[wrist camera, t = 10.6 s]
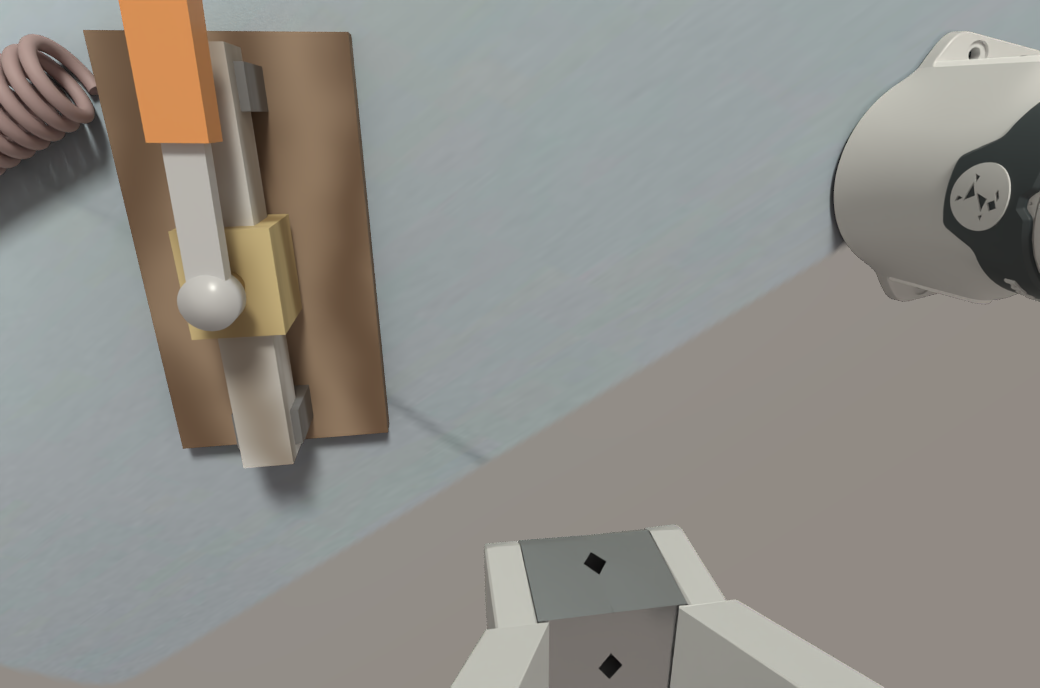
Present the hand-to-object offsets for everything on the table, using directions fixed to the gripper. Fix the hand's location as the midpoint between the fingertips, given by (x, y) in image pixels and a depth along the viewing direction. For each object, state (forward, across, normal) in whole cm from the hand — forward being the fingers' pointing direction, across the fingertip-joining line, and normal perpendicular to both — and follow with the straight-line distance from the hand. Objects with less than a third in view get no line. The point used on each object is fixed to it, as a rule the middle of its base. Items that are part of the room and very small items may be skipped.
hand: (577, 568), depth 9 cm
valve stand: (+34, +13, +2) cm, 36 cm away
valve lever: (+25, +13, -4) cm, 28 cm away
